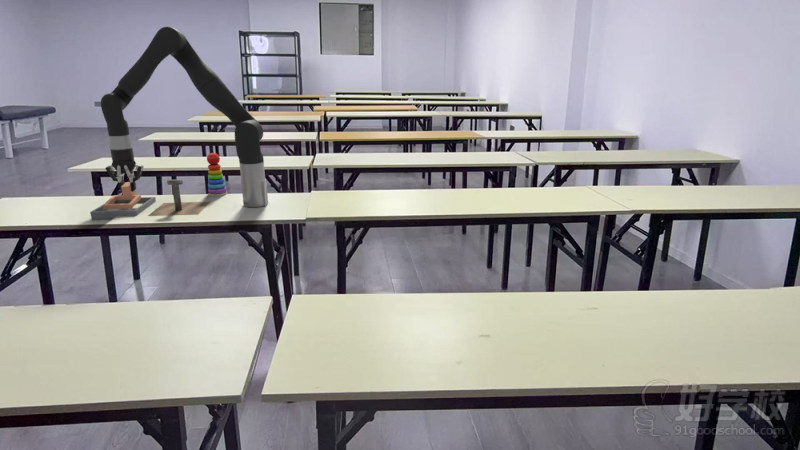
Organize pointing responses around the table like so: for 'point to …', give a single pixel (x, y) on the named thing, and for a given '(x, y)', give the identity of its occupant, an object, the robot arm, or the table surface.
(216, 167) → the stacking toy
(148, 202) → the tray
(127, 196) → the tan piece
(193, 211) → the stake board
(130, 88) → the robot arm
